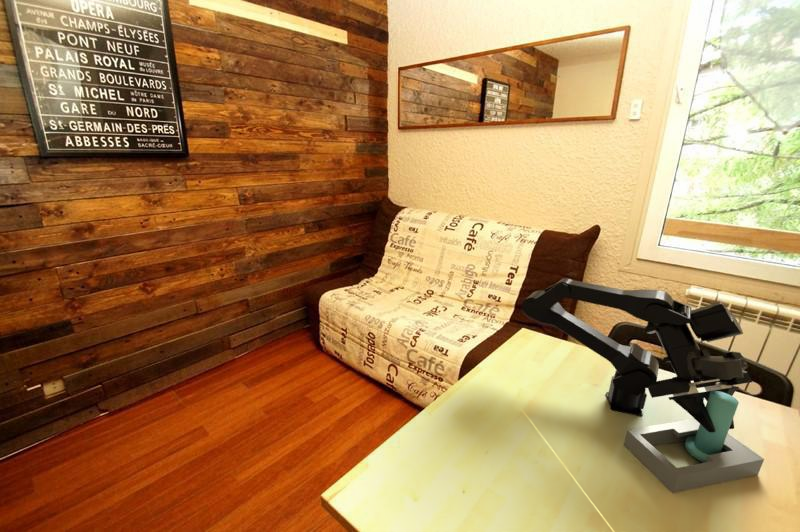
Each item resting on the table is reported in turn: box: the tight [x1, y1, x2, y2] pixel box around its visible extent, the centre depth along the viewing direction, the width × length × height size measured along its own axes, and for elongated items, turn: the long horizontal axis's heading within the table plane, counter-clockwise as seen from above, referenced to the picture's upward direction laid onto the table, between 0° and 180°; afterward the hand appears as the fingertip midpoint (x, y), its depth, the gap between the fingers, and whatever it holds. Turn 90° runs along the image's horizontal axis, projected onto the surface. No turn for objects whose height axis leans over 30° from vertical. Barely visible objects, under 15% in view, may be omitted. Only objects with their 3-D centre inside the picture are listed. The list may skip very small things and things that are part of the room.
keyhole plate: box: [623, 418, 765, 494], centre depth 68 cm, size 19×11×4 cm, turn 101°
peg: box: [684, 391, 740, 463], centre depth 67 cm, size 6×6×13 cm
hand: (721, 430), depth 66 cm, fingers closed on peg, 4 cm apart
